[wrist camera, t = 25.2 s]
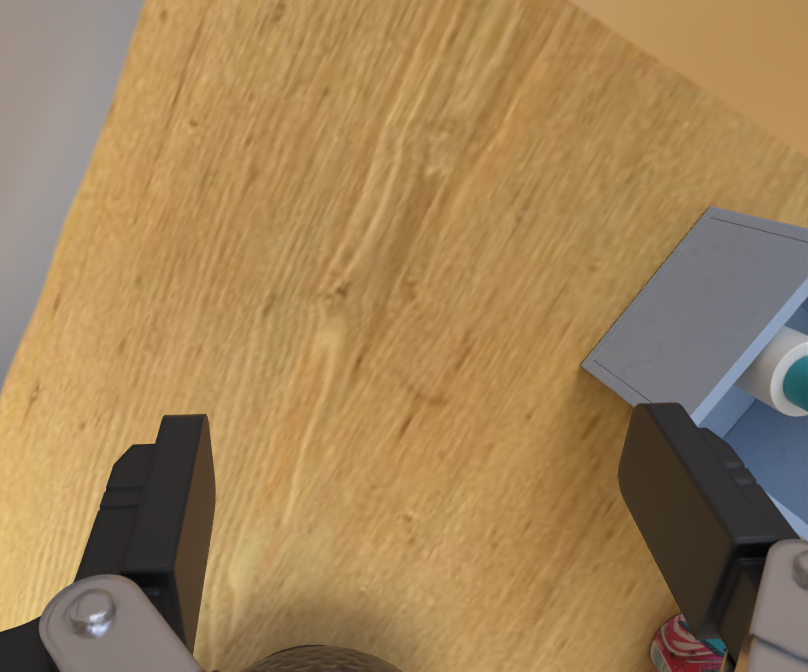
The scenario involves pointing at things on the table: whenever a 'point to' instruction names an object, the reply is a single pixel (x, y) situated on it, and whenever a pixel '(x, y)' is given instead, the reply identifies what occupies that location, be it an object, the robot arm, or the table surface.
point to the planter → (321, 661)
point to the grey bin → (720, 343)
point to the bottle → (780, 373)
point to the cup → (685, 649)
